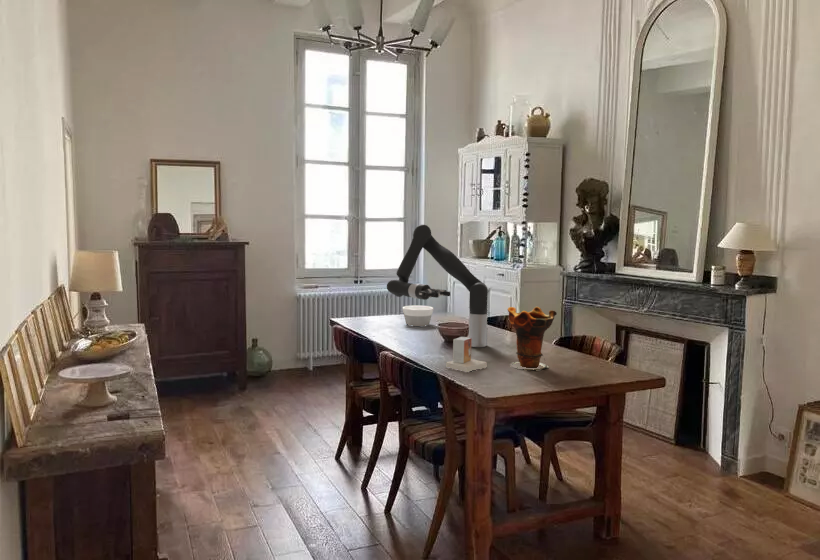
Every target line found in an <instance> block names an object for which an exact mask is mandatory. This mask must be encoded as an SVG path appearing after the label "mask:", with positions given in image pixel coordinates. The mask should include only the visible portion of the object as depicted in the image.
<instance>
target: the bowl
mask: <svg viewBox="0 0 820 560" xmlns="http://www.w3.org/2000/svg"><path fill="white" fill-rule="evenodd" d="M402 312H403V315H404V319H405V321H404V322H405V324H408V325H413V326H424V327H426V326H425V325H429V326H430V322H431V320H432V315H433V312H434V307H433V306H430V305H421V304H420V305H416V304H415V305H412V304H411V305H404V306H402ZM408 325H407V326H408ZM413 326H412V327H413Z"/></svg>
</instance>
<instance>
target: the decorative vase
mask: <svg viewBox="0 0 820 560" xmlns="http://www.w3.org/2000/svg"><path fill="white" fill-rule="evenodd" d="M507 312H508V319H509V323H510V324H511V325H512V327H513V329H514V330H515V332H516V333H515V336H516V341H515V342H516V356H517V359H518V361H514V362H515V363H514V362H512V363H513V364H516V363H520V366H522V367H526V368H537V367H538V366H539V365H541V366H543V367H542V368H540V369H534V370H536V371H541V370H544V369H548V368H549V366H548V365H547V364H545V363H546V362H545V361H546V360H545V358H543V360H544V362H545V363H542V362H541V358H542V357H544V355H543V353H542V349H543V343H544V336H545V332H546V331H547V330H548V329H549V328H550V327H551V326H552V325H553V321H554V319H555V316H556V315H557V313H558V312H557V311H556V310H553V309H552V310H549V311H548V314H545V313H544V311H543V310H542V309H541V307H539V306H535V307H533V309H531V311H526V310H522V311H521V312H517V308H516V307H514V306H509V307H508V308H507ZM513 364H512V365H513ZM546 365H547V366H546ZM517 368H518V367H517ZM527 370H533V369H524V370H523V371H527Z"/></svg>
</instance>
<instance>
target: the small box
mask: <svg viewBox="0 0 820 560" xmlns="http://www.w3.org/2000/svg"><path fill="white" fill-rule="evenodd" d="M452 341H453V343H452V361H453V362H458V363H465V362H468V361H471V359H472V347H471V342H472V338H469V336H468V337H466V336H459V337H457V338H453V340H452Z"/></svg>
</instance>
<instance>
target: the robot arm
mask: <svg viewBox="0 0 820 560" xmlns="http://www.w3.org/2000/svg"><path fill="white" fill-rule="evenodd" d="M423 249H424V250H425V251H426V252H428V253H429V255H431V256H432V258H433V259H434V260H435V261H436V263H437V264H439V266H441V268H442V269H443V270H444V271H445V272H447V273H448V274H449V275H450V276H451V277H453V278H454V279H455V280H457V281H458V282H460V283H461V284H462V285H463V286H464V287H465V288H466V290H467V291H468V292H469V298H468V299H469V305H468V306H469V309H468V310H469V317H468V321H469V322H468V338H472V342H471V348H485V347H486V346H488V334H489V333H488V321H487V320H488V298H489V297H488V296H489V294H488V293H489V287H488V286H487V285H486V284H485V283H484V282H483V281H481V280H480V279H479V278H477V277H476V276H475V275H474V274H473V273H472V272H471V271H470V270H469V269H468V267H467V265H465V264H464V263H463V262H462V261H461V260H460V258H459V257H457V256H456V255H455V254H454V253H453V252H452V251H451V250H450V249H448V248H446V247H445V246H443V245H442V244H441V243H439V242H438V241H437V239H436V238H434V237H433V235H432V230H431V228H430V226H428V224H419V225H417V226H416V227H415V228H414V231H413V233H412V239H411V243H410V245H409V248H408V250H407V251H406V252H405V254H404V256H403V259H402V260H401V262H400V265H399V266H398V269H397V271H396V272H395V273H396V276H397V277H398V279H391V280H389V281H388V282H387V284H386V289H387V291H388V292H389V293H390V294H392V295H394V296H395V297H397V298H401V297H403V296H405V297H407V298H413V299H417V300H425V301H426V300H429V299H430V298H439V297H441V296H442V297H451V291H448V290H446V289H439V288H431V286H430V285H428V284H423V283H411V282H409V279H410V276H411V274H412V272H413V270H414V267H416V266H415V265H416V263H417V261H418V258H419V255H420V253H421V252H422V250H423Z"/></svg>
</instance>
